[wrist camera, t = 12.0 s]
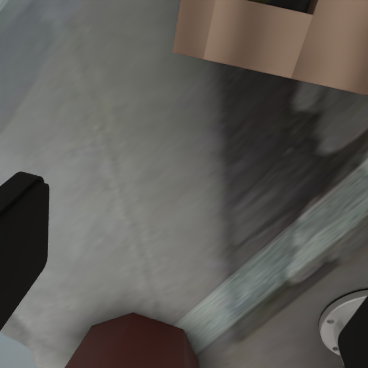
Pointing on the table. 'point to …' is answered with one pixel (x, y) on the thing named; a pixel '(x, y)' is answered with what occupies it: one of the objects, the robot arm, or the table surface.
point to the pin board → (281, 39)
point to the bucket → (134, 345)
